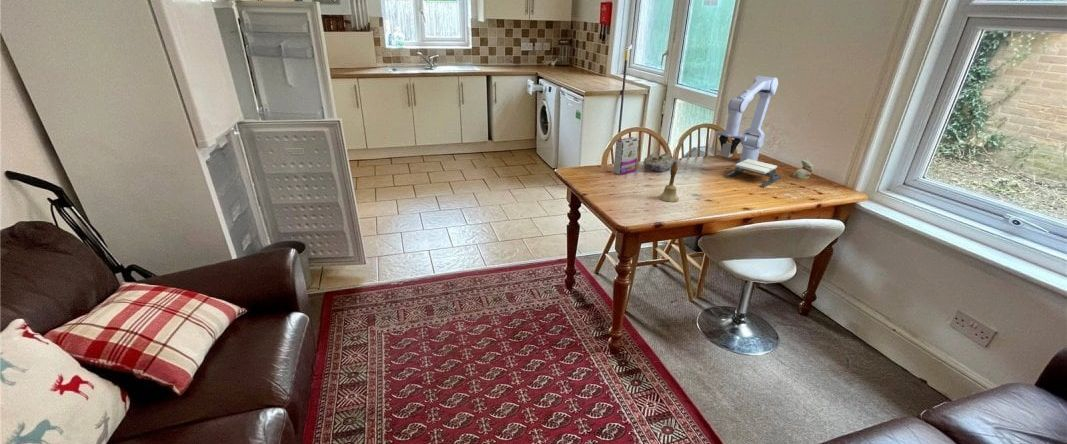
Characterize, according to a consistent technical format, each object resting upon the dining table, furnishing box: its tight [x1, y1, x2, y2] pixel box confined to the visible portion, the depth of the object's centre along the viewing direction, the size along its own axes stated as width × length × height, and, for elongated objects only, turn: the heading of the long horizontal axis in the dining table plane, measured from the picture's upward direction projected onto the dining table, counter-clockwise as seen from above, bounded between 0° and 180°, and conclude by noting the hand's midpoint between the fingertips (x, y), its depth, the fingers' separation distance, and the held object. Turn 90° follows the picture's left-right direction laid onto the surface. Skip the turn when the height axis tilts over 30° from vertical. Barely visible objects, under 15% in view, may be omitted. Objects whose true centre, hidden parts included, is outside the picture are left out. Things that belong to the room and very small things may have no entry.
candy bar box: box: [612, 136, 640, 176], centre depth 220 cm, size 11×5×16 cm, turn 126°
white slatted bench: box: [725, 159, 782, 189], centre depth 219 cm, size 20×18×6 cm
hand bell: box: [658, 161, 680, 203], centre depth 190 cm, size 8×8×16 cm
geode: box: [642, 153, 678, 173], centre depth 227 cm, size 17×9×15 cm
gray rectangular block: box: [720, 141, 734, 158], centre depth 221 cm, size 4×4×6 cm
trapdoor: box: [734, 159, 778, 175], centre depth 217 cm, size 14×14×1 cm
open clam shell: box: [791, 157, 815, 180], centre depth 221 cm, size 6×8×10 cm
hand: (727, 152), depth 221 cm, fingers closed on gray rectangular block, 4 cm apart
